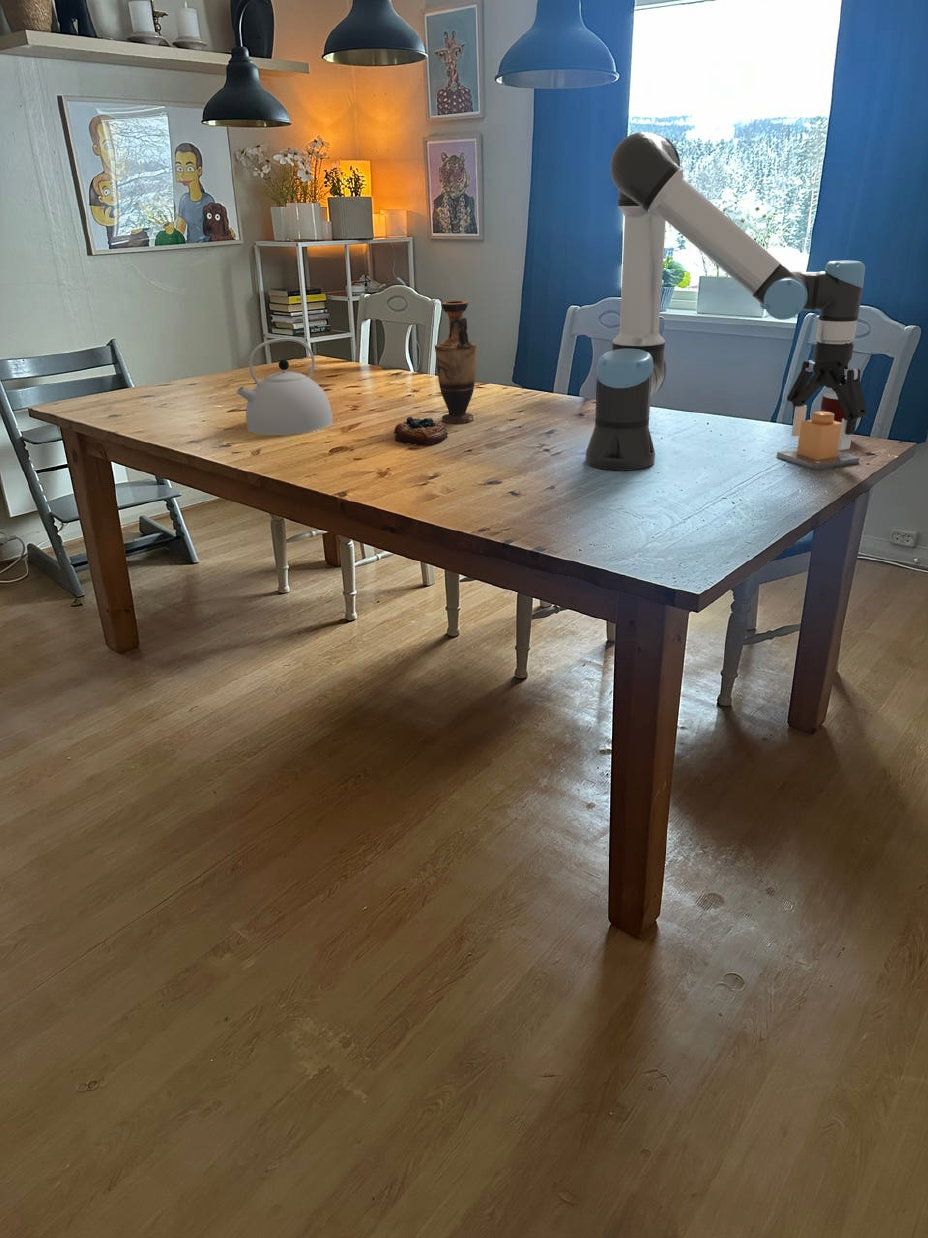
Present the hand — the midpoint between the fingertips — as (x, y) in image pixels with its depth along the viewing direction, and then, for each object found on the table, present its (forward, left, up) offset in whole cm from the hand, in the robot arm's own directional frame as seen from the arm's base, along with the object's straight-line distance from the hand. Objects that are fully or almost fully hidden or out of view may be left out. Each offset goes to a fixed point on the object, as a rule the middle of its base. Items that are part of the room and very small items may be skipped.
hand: (819, 442), depth 194 cm
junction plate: (0, 0, -4) cm, 4 cm away
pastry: (-69, +61, -4) cm, 92 cm away
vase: (-53, +75, -4) cm, 92 cm away
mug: (+16, +12, -4) cm, 20 cm away
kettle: (-95, +93, -4) cm, 133 cm away
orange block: (0, 0, -3) cm, 3 cm away
